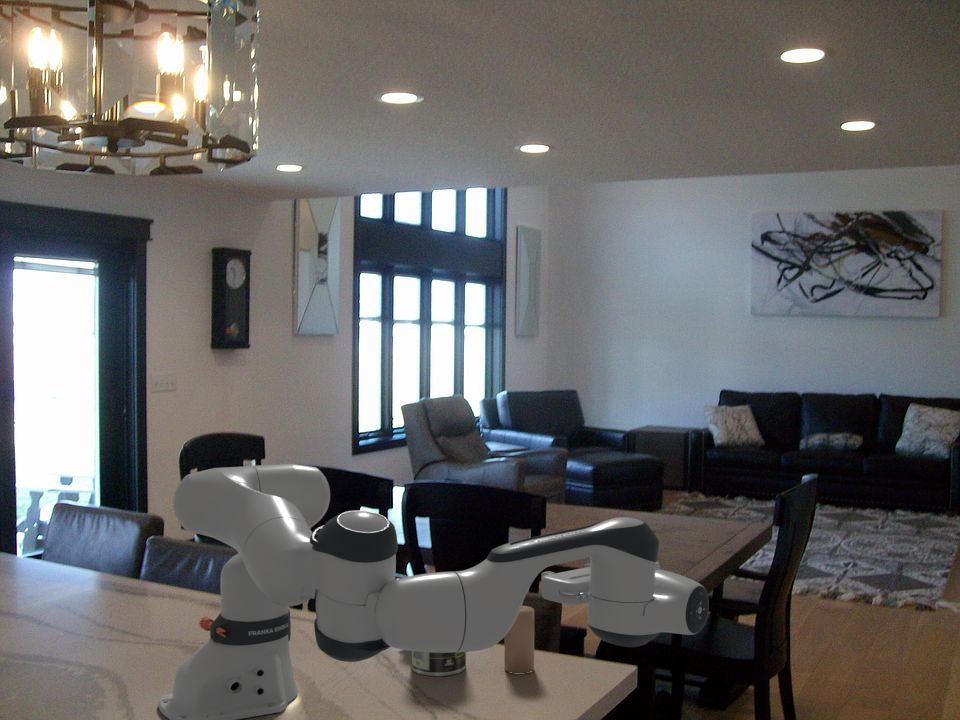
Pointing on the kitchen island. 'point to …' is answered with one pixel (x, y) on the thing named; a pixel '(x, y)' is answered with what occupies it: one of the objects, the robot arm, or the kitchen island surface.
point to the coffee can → (438, 663)
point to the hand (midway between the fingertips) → (565, 572)
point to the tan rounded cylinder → (520, 643)
